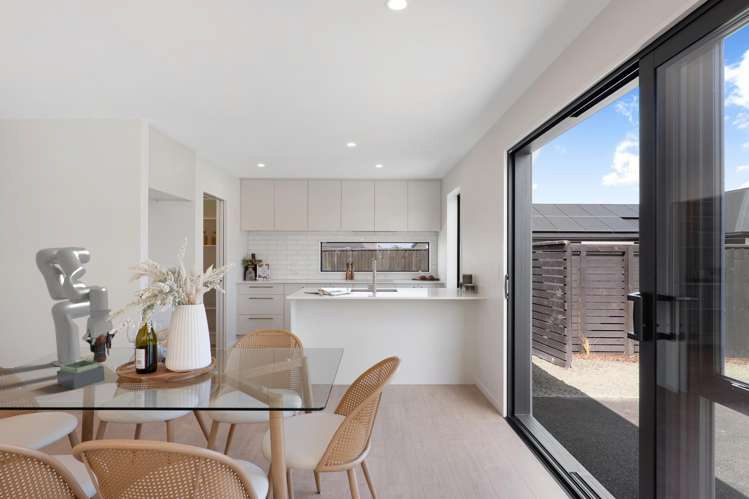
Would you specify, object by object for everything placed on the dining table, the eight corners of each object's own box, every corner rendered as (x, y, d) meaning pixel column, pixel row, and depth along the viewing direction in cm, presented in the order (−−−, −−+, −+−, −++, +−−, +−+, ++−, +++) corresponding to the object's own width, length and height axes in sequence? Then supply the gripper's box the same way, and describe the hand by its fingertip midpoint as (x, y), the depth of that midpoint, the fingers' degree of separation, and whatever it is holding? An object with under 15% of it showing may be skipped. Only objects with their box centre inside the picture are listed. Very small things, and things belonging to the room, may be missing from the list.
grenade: (109, 362, 201) (109, 331, 200) (90, 363, 198) (90, 332, 197) (112, 358, 206) (111, 328, 206) (93, 360, 203) (93, 329, 203)
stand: (57, 384, 181) (56, 366, 181) (87, 375, 192) (86, 358, 191) (74, 389, 174) (72, 370, 174) (104, 380, 185) (103, 362, 185)
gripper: (113, 309, 210) (115, 344, 211) (75, 316, 195) (77, 354, 196) (122, 310, 206) (123, 346, 207) (83, 317, 191) (85, 356, 192)
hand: (101, 349), depth 202 cm, fingers closed on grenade, 6 cm apart
